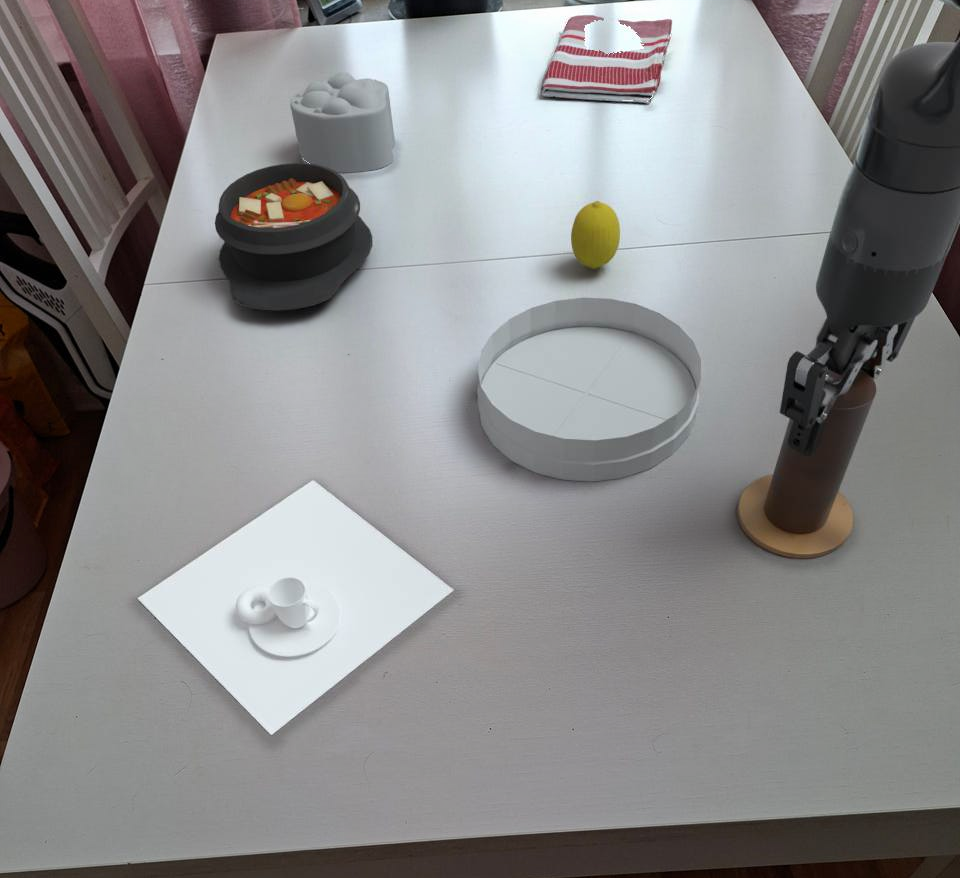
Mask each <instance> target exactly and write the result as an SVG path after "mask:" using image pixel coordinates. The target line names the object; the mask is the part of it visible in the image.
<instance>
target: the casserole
mask: <svg viewBox="0 0 960 878" xmlns="http://www.w3.org/2000/svg"><path fill="white" fill-rule="evenodd" d="M360 211H361V202H360V198H359V196H358V194H357V193H356V192H355V191H354V189H352V188H351V187H350V186H349V184H348V182H347V180H346V179H345V178H344V177H343V175H341V173H337V172H336V171H334V170H332V169H330V168H327V167H324V166H320V165H316V164H308V163H304V162H290V163H280V164H274V165H270V166H266V167H262V168H259V169H256V170H253V171H251V172H249V173H246V174H245V175H243V176H241V177H239V178H237V179H236V180H234V181H233V182H232V183H231V184H229V185H228V186H227V188H225V190H223V192H222V194H221V195H220V198H219V201H218V212H217V213H216V215H215V220H214V227H215V231H216V233H217V235H218V236H219V238H220V239H221V240H222V241H223V244H222V245H221V248H220V250H219V254H218V262H219V267H220V269H221V271H222V273H223V274H224V276H225V278H226V279H227V281H228V283H229V287H230V291H231V295H232V300H234V301H235V302H236V303H238V304H239V305H241V306H244V307H247V308H249V309H254V310H255V309H256V310H260V311H261V310H262V311H288V310H289V311H290V310H297V309H302V308H303V309H304V308H307V307H308V308H309V307H312V306H315V305H318V304H321V303H324V302H325V301H327V300H329V299H330V298H332V297H333V296H334V295H335V294H336V293H337V292H338V290H339V288H340V287H341V286H342V284H343V283H344V282H345V281H346V279H347V278H348V277H349V276H351V275H352V274H353V273H354V272H355V271H356V270H357V269H358V268H359V267H360V266H362V265H363V264H364V263H365V261H366V260H367V258H368V257H369V255H370V253H371V251H372V248H373V235H372V231H371V229H370V228H369V226H368V225H367V224H366V223H365V222H364V220H363V219H362V218H361V217H360V216H359V214H360Z"/></svg>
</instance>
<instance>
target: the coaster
mask: <svg viewBox="0 0 960 878" xmlns="http://www.w3.org/2000/svg"><path fill="white" fill-rule="evenodd" d="M772 477H773V473H772V474H768V475H765V476H763V477H760V478H757V479H756V480H754V481H752V483H750V484H749V485H748V486H747V487H746V488H745V489H744V491H742V493H741V495H740V498H739V501H738V504H737V519H738V522H739V524H740V526H741V529H742V530H743V532H744V533H745V535H746V536H747V537H748V538H750V540H752V542H754V543H755V544H756V545H758V546H759V547H761V548H763V549H764V550H766V551H768V552H771V553H773V554H776V555H779V556H783V557H786V558H793V559H812V558H818V557H822V556H825V555H829V554H830V553H833V552H834V551H836V550H838V549H839V548H840V547H841V546H842V545H844V543H846V542H847V540H848V538H849V536H850V534H851V532H852V529H853V527H854V526H853V525H854V513H853V510H852V506H851V505H850V503H849V501H848V500H847V498H846V497H845V496H844V494H842V493H841V491H838V493H837V496H836V498H835V501H834V504H833V506H832V509H831V511H830V514H829V517H828V519H827V521H826V523H825V524H824V525H823V526H822V527H821V528H820V529H818V530H816V531H814V532H811V533H805V534H796V533H790V532H787V531H784V530H782V529H780V528H778V527H776V526H775V525H773V524H772V523H771V522H770V521H769V520H768V518H767V516H766V514H765V511H764V504H765V500H766V497H767V494H768V490H769V487H770V483H771V480H772Z"/></svg>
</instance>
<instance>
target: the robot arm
mask: <svg viewBox="0 0 960 878" xmlns="http://www.w3.org/2000/svg"><path fill="white" fill-rule="evenodd" d="M938 1H939V2H941V3H943V4H946V5H948V6H951V7H953V8H954V9H957V10H960V0H938ZM838 200H839V201H838V204H837V208H836V212H835V215H834V218H833V221H832V226H831V229H830V232H829V235H828V239H827V243H826V247H825V249H824V254H823V257H822V261H821V264H820V268H819V271H818V275H817V279H816V282H815V293H816V295H817V298H818V300H819V302H820V304H821V306H822V307H823V310H824V312H825V315H826V318H825V320H823V322H822V324H821V326H820V328H819V329H818V332H817V334H816V337H815V346H814V347H813V349H812V350H810V352H809V353H808V354H804V353H802V352H800V351H798V350H797V351H794V352H793V353H792V354H791V356H790V357H789V359H788V362H787V365H786V372H785V377H784V384H783V390H782V395H781V403H780V407H779V408H780V409H779V413H780V414H781V415H782V416H783V417H786V418H788V419H791V420H793V425H792V428H791V431H790V435H789V438H788V445H789V446H790V447H791V448H792V449H794V450H796V451H797V452H799V453H801V454H803V455H804V456H810V455H811V454H812V453H813V452H815V451H816V448H817V445H818V443H819V440H820V437H821V434H822V431H823V428H824V425H825V422H826V419H827V417H828V414H829V412H830V410H831V408H832V406H833V405H834V403H835V401H836V399H837V397H838V396H840V395H844V394H846V393H847V392H848V390H849V389H850V387H851V385H852V383H853V381H854V379H855V377H856V376H857V374H858V372H859V370H860V369H862V370H863V371H865V372H866V373H868V374H869V375H870V376H871V377H872V379H873V380H874V381H875V380H877V379H878V378H879V377H880V376H881V375H882V374H883V372H884V370H885V363H886V361H887V362H889V363H892V362H893V361H894V360H895V359H896V358H897V357H898V355H899V354H900V351H901V349H902V346H903V345H904V342H905V340H906V338H907V336H908V334H909V332H910V329H911V328H912V326H913V323H914V321H915V320H916V317H918V316H919V315H920V314H921V313H922V312H923V311H924V310H925V308H926V307H927V305H928V303H929V301H930V298H931V297H932V293H933V291H934V289H935V286H936V283H937V281H938V279H939V276H940V274H941V271H942V269H943V266H944V264H945V261H946V259H947V256H948V254H949V251H950V250H951V246H952V245H953V241H954V240H955V237H956V234H957V231H958V229H959V226H960V36H959V37H958V40H957V41H956V42H952V41H951V42H950V41H931V42H930V41H929V42H923V43H918V44H915V45H911V46H909V47H907V48H904V49H902V50H901V51H899V52H898V53H897V54H895V55H894V56H893V57H892V58H891V59H890V60H889V61H888V63H887V64H886V66H885V67H884V69H883V70H882V72H881V75H880V77H879V79H878V81H877V85H876V88H875V91H874V93H873V97H872V100H871V103H870V107H869V110H868V113H867V117H866V121H865V124H864V127H863V131H862V135H861V137H860V141H859V145H858V149H857V152H856V156H855V158H854V161H853V164H852V167H851V169H850V172H849V174H848V176H847V179H846V181H845V183H844V186H843V188H842V191H841V194H840V197H839V199H838ZM827 369H829V370H831V371H832V372H834V373H836V374H839V375H843V376H842V378H841V380H840V381H837V380H835V379H833V378H831V377H829V374H827ZM823 390H824V391H825V393H826V395H825V398H824V400H823V401H822V403H821V404H820V401H821V396H822V392H823Z"/></svg>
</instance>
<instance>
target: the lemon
mask: <svg viewBox="0 0 960 878" xmlns="http://www.w3.org/2000/svg"><path fill="white" fill-rule="evenodd" d="M570 241H571V243H570V244H571V249H572V252H573V255H574V257H575V258H576V260H577V261H578V262H579V263H580V264H582V265H583V266H585V267H588V268H590V269H591V270H596V269H598V268H600V267H604V266H605V265H607V264H608V263H610V261H612V260H613V258H614V257H615V256H616V253H617V251H618V249H619V246H620V241H621V227H620V221H619V218H618V216H617V213H616V212H615V210H614V209H613V208H612V207H611V206H610V205H609V204H606V203H604V202H601V201H599V200H595V201H594V202H590V203H588V204H586V205H584V206H583V207H582V208H580V210H579V211H578V212H577V214H576V216H575V218H574V221H573V224H572V227H571V233H570Z"/></svg>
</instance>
